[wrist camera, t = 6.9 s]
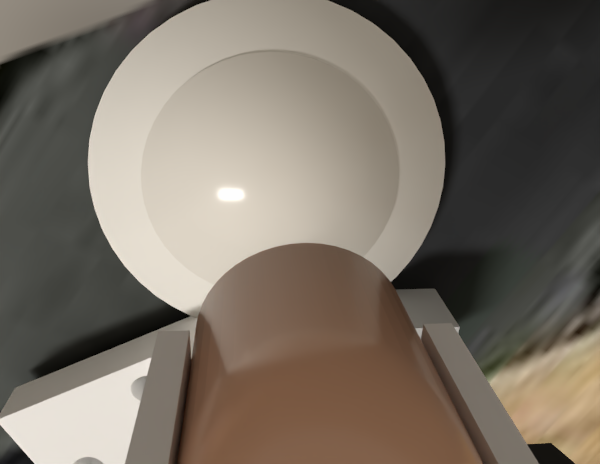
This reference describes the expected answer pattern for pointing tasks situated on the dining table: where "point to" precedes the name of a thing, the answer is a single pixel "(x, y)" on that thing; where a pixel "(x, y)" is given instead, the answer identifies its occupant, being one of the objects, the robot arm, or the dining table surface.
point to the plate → (263, 144)
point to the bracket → (85, 405)
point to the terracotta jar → (314, 369)
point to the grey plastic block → (425, 308)
